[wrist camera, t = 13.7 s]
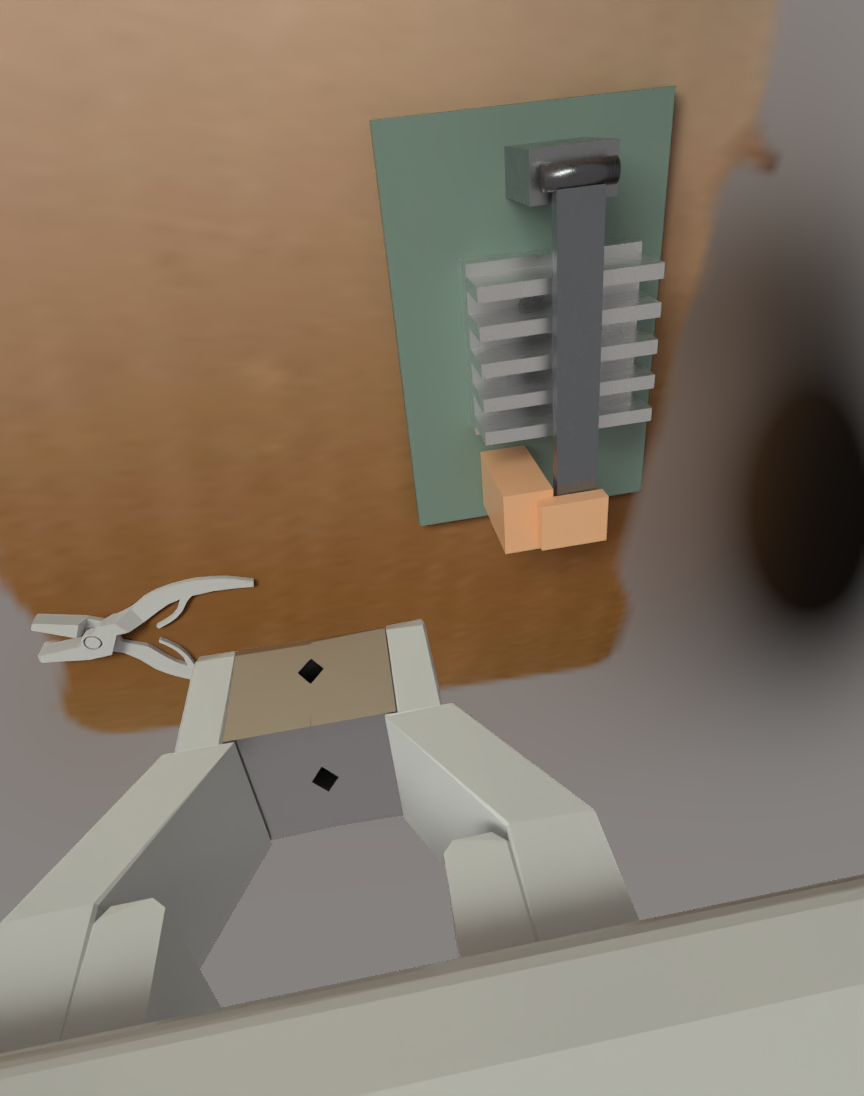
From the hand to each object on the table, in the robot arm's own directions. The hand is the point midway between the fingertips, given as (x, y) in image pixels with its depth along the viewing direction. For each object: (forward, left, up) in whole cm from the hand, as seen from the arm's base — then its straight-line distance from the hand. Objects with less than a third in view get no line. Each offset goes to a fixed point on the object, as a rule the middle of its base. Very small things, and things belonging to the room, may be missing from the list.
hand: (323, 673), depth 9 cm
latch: (+15, +11, -33) cm, 38 cm away
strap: (+6, +13, -28) cm, 31 cm away
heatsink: (+3, +13, -33) cm, 36 cm away
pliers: (+24, -17, -35) cm, 45 cm away
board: (+6, +12, -34) cm, 37 cm away
